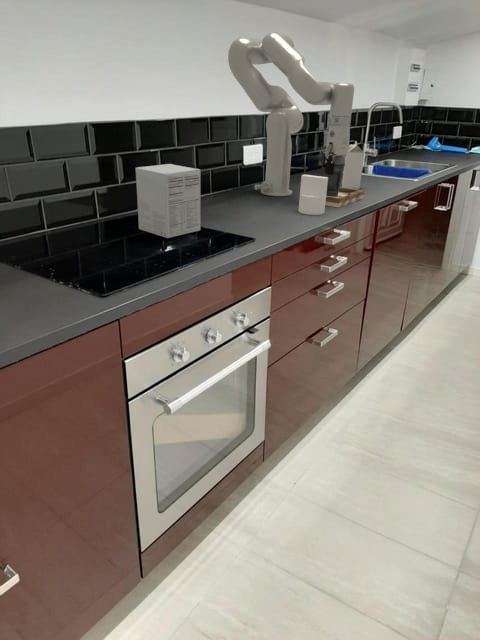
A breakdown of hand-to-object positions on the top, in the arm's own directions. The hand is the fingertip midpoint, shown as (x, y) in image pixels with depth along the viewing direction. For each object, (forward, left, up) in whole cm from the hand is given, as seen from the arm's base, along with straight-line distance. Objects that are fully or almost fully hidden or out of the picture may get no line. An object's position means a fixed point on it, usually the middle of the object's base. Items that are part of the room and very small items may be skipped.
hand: (334, 172), depth 182 cm
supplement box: (-71, -13, -11) cm, 73 cm away
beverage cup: (0, 0, -9) cm, 9 cm away
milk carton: (+28, +21, -11) cm, 37 cm away
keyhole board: (+4, +2, -11) cm, 12 cm away
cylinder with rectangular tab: (-17, -10, -11) cm, 23 cm away
